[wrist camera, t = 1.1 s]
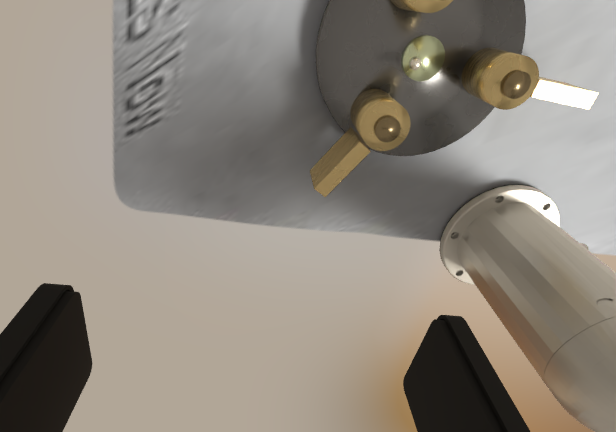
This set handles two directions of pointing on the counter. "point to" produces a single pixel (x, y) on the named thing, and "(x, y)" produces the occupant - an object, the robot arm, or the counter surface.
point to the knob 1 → (362, 137)
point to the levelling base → (413, 62)
